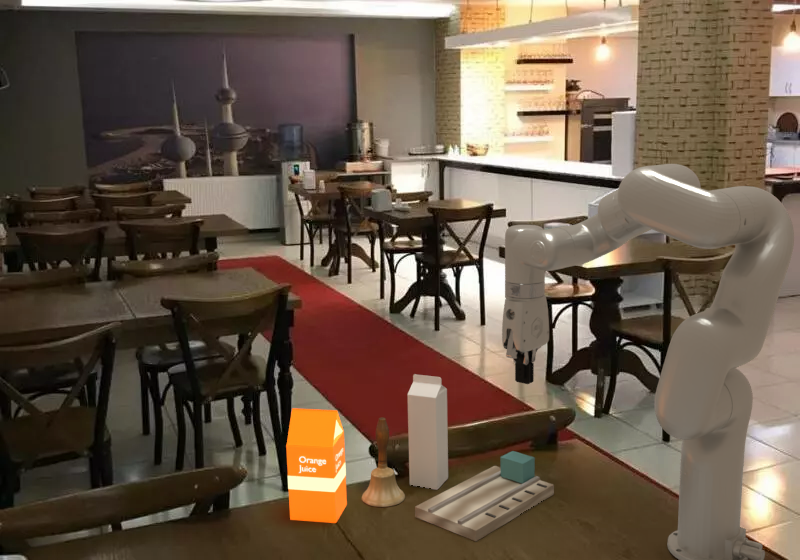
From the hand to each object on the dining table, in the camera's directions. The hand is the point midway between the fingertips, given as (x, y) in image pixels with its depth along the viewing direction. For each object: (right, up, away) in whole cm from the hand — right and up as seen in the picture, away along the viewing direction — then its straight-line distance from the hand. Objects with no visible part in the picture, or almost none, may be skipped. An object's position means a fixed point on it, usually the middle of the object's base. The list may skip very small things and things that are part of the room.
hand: (524, 381), depth 166 cm
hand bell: (-27, -22, -3) cm, 35 cm away
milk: (-18, -21, +4) cm, 28 cm away
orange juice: (-39, -23, -8) cm, 46 cm away
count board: (-8, -22, -7) cm, 25 cm away
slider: (-1, -18, -1) cm, 18 cm away
